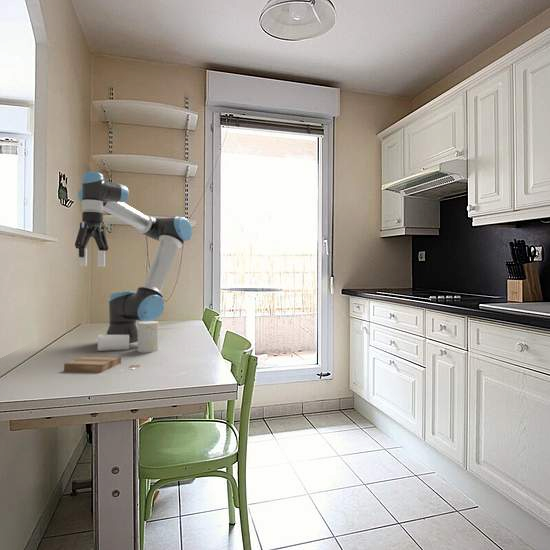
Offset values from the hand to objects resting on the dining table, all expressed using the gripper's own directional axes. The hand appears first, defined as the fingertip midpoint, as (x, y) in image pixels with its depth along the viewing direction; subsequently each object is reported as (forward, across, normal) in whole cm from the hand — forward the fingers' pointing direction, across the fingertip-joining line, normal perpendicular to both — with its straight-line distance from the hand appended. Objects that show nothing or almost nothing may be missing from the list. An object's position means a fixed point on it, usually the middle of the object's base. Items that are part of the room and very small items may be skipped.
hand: (92, 266), depth 163 cm
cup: (+35, -9, +19) cm, 41 cm away
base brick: (+35, +21, +12) cm, 43 cm away
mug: (+32, -13, +9) cm, 36 cm away
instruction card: (+35, +20, +26) cm, 48 cm away
